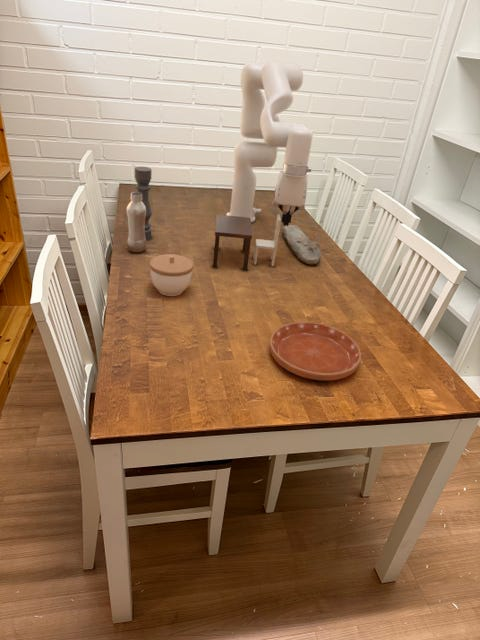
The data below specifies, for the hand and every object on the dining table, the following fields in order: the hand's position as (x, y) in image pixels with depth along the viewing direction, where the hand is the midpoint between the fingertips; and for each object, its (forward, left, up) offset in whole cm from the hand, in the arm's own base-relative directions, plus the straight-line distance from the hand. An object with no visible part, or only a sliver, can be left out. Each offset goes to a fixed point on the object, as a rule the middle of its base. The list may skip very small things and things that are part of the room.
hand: (285, 224), depth 161 cm
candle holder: (+34, -38, -15) cm, 53 cm away
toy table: (+14, -10, -15) cm, 23 cm away
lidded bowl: (+44, +2, -15) cm, 47 cm away
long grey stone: (-18, -9, -15) cm, 25 cm away
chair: (+5, -3, -15) cm, 16 cm away
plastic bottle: (+41, -28, -15) cm, 52 cm away
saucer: (+28, +48, -15) cm, 58 cm away
